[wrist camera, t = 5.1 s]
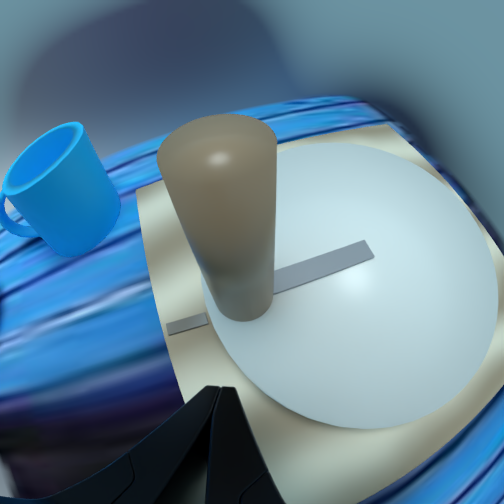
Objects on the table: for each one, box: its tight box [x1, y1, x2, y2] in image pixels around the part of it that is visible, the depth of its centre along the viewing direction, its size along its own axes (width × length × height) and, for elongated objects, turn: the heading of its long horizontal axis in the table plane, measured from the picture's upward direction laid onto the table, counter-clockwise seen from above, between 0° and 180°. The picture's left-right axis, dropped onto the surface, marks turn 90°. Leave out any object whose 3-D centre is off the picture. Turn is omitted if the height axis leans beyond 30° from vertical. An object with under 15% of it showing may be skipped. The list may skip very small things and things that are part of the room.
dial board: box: [136, 124, 504, 504], centre depth 17 cm, size 26×26×2 cm
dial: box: [157, 114, 498, 429], centre depth 12 cm, size 20×20×10 cm
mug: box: [0, 122, 121, 257], centre depth 18 cm, size 12×8×8 cm
